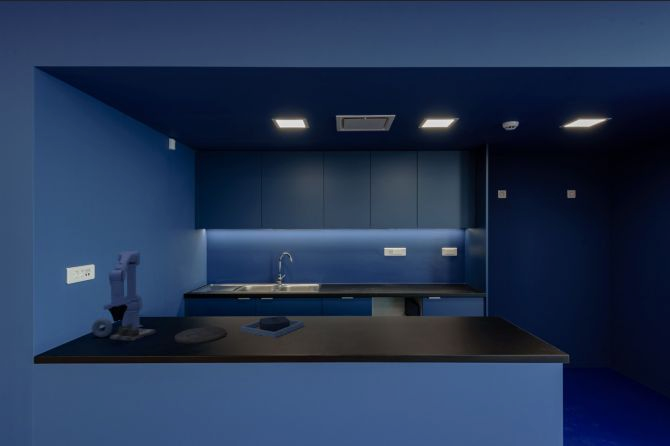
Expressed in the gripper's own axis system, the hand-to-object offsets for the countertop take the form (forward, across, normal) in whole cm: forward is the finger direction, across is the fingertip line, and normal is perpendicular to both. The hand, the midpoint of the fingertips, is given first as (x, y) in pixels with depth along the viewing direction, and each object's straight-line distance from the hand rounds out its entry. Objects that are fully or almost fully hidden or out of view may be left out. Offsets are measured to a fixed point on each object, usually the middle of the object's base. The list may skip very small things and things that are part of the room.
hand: (118, 321), depth 188 cm
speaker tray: (+10, +39, -66) cm, 77 cm away
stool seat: (+10, +10, +1) cm, 15 cm away
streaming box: (+11, +39, -67) cm, 78 cm away
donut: (+11, +4, +16) cm, 19 cm away
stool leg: (+9, +6, +1) cm, 11 cm away
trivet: (+11, +18, -36) cm, 41 cm away
